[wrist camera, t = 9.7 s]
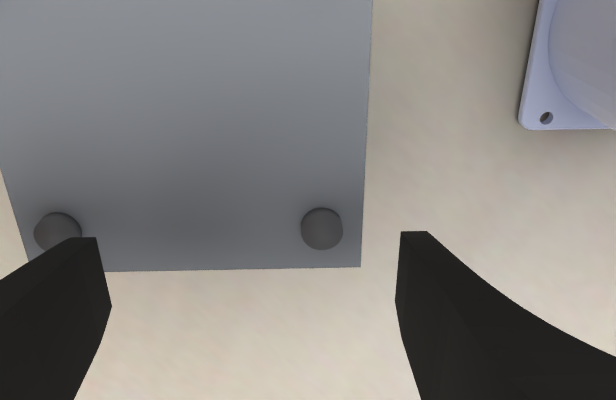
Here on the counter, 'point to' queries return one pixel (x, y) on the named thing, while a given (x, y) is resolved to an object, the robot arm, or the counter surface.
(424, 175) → the counter surface
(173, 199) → the plate
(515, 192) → the counter surface
